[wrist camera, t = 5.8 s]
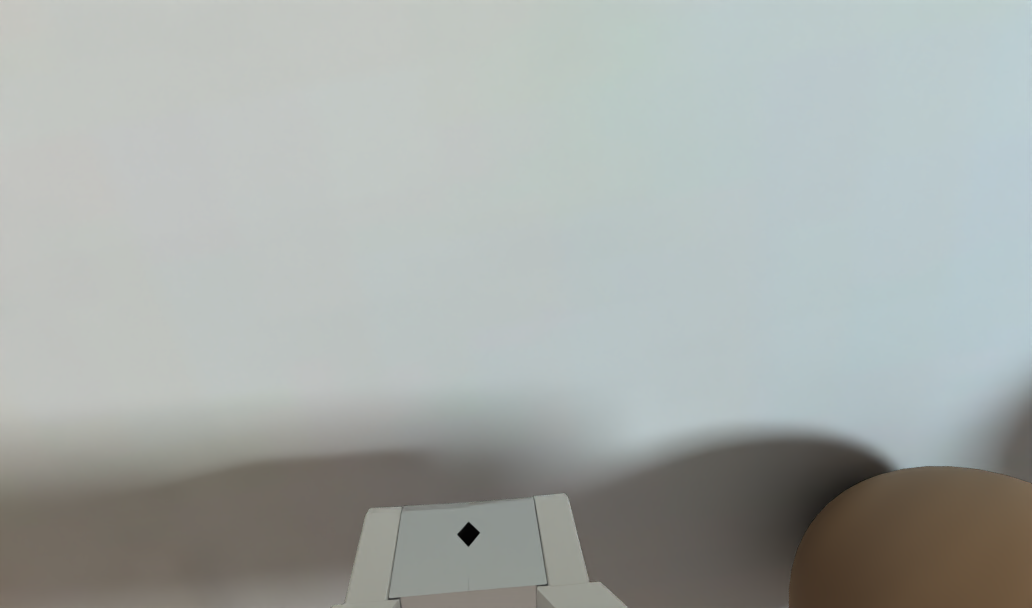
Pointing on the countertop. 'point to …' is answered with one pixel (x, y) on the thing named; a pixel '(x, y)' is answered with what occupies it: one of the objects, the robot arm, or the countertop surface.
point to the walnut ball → (919, 543)
